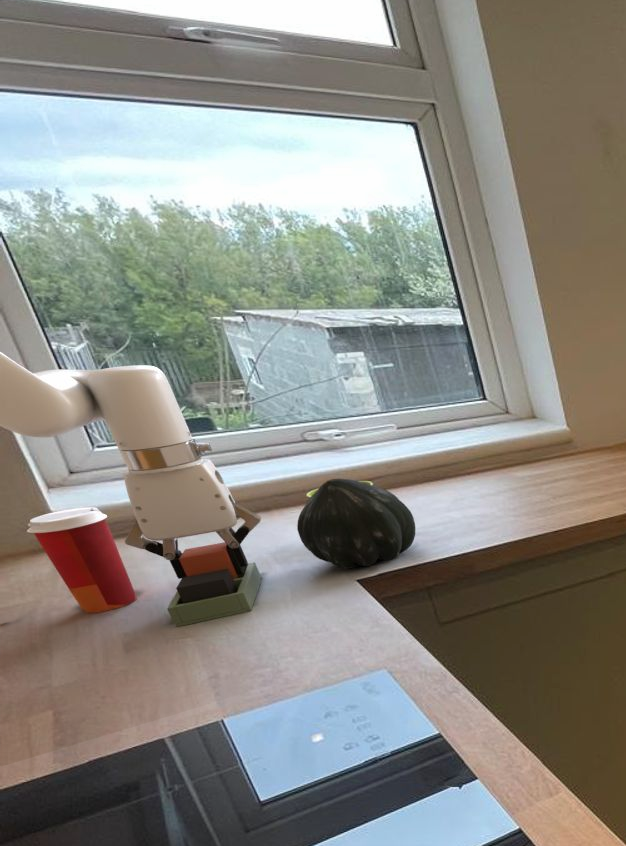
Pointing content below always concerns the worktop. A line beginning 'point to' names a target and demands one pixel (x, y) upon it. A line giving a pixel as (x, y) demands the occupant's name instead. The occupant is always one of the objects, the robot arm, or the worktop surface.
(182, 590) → the pad charcoal
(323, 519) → the squash
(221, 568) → the pad terracotta
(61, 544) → the paper cup
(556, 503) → the worktop surface
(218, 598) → the green tray
